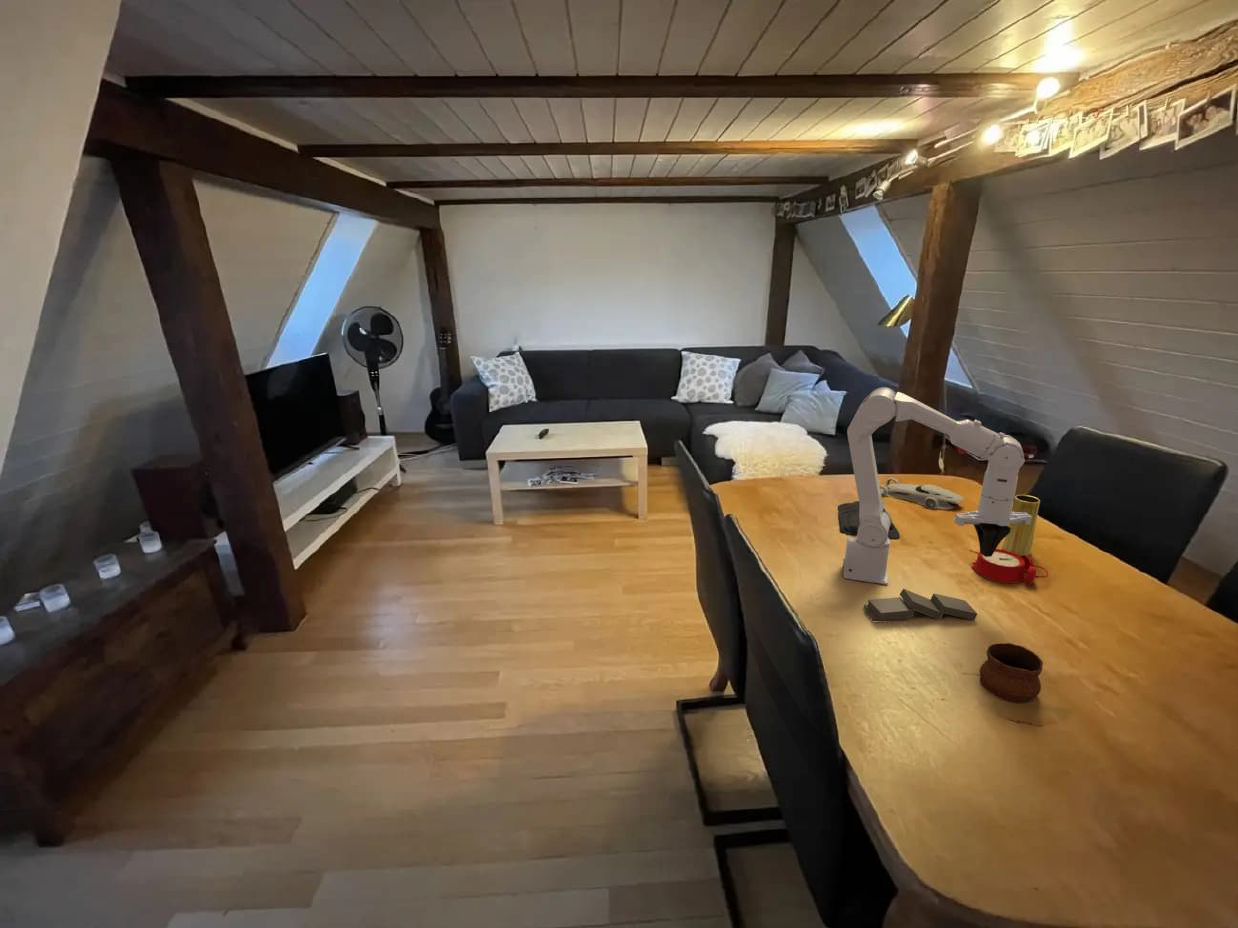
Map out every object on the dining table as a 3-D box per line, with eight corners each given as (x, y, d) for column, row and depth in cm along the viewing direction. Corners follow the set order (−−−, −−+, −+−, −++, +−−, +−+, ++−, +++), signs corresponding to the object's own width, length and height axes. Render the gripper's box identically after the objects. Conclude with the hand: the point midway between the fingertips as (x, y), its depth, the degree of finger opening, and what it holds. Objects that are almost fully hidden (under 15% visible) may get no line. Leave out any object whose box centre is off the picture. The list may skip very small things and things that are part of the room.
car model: (885, 485, 191) (887, 471, 189) (967, 504, 174) (969, 488, 173) (871, 494, 184) (873, 480, 182) (955, 515, 167) (957, 499, 165)
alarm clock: (968, 544, 141) (1042, 543, 134) (970, 567, 143) (1044, 567, 135) (971, 563, 133) (1051, 562, 125) (973, 587, 134) (1052, 588, 127)
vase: (1004, 554, 143) (1015, 501, 139) (999, 543, 149) (1010, 492, 144) (1033, 557, 141) (1045, 504, 137) (1027, 547, 147) (1039, 495, 142)
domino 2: (939, 619, 118) (908, 607, 118) (928, 606, 123) (899, 594, 123) (943, 613, 118) (913, 601, 117) (932, 600, 122) (903, 588, 122)
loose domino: (906, 624, 118) (872, 624, 119) (896, 610, 123) (863, 610, 123) (907, 617, 118) (873, 617, 118) (897, 604, 123) (864, 604, 123)
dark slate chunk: (889, 510, 172) (891, 496, 170) (900, 543, 152) (903, 526, 150) (835, 506, 176) (836, 492, 175) (839, 537, 156) (841, 521, 155)
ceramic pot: (1082, 741, 88) (1092, 703, 86) (949, 706, 96) (955, 671, 94) (1060, 672, 103) (1068, 639, 101) (947, 647, 111) (952, 616, 109)
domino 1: (912, 616, 118) (880, 619, 117) (898, 603, 123) (867, 606, 122) (913, 609, 118) (881, 612, 117) (899, 596, 122) (868, 599, 122)
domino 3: (974, 620, 118) (941, 612, 118) (962, 606, 122) (930, 599, 122) (977, 613, 117) (944, 606, 117) (965, 600, 122) (933, 593, 122)
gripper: (972, 503, 114) (961, 564, 119) (1046, 502, 114) (1032, 562, 118) (953, 490, 121) (944, 548, 126) (1023, 489, 121) (1011, 547, 125)
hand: (985, 554), depth 122 cm, fingers closed
